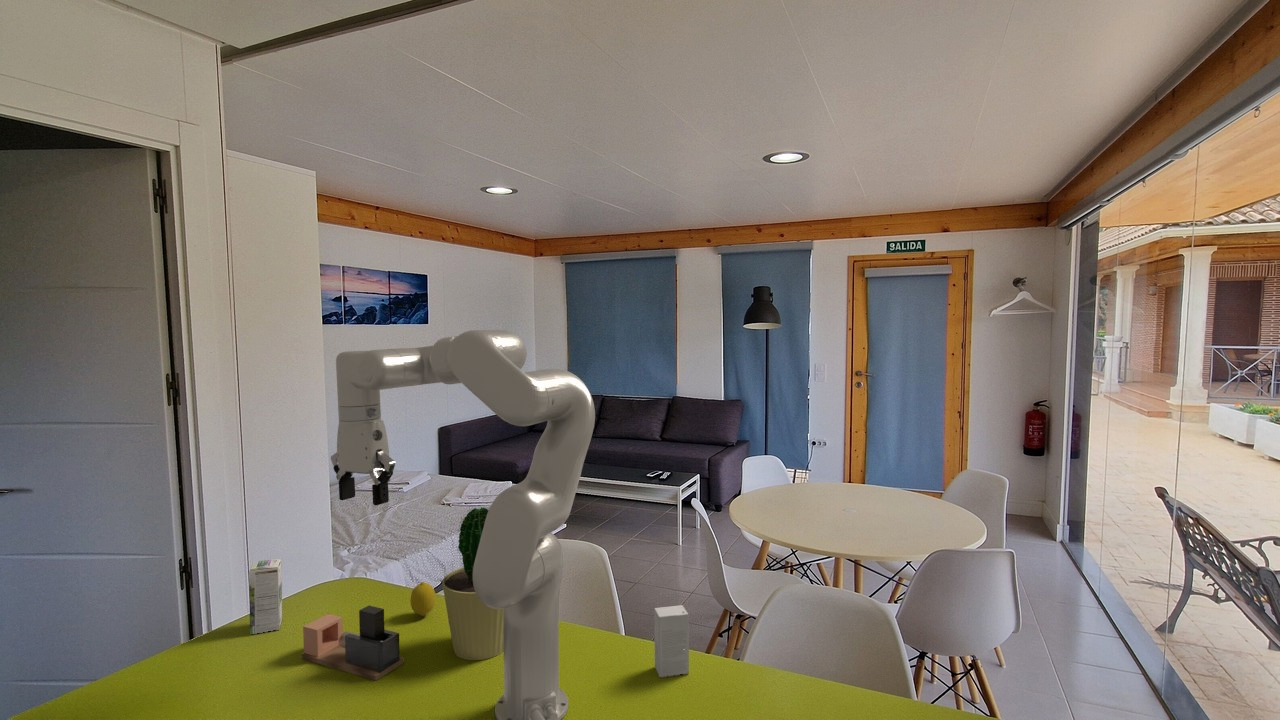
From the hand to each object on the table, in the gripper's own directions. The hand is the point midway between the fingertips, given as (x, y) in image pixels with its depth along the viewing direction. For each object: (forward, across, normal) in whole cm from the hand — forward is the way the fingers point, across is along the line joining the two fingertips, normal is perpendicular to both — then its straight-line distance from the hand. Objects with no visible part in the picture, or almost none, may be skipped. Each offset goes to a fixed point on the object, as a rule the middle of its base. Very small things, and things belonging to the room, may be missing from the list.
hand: (363, 501), depth 122 cm
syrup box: (+32, +34, 0) cm, 47 cm away
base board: (+33, +5, 0) cm, 33 cm away
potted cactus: (+34, -14, -16) cm, 40 cm away
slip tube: (+30, +1, 0) cm, 30 cm away
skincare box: (+35, -53, -26) cm, 69 cm away
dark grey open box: (+33, 0, 0) cm, 33 cm away
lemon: (+33, +8, -20) cm, 39 cm away
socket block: (+33, +13, +1) cm, 35 cm away
